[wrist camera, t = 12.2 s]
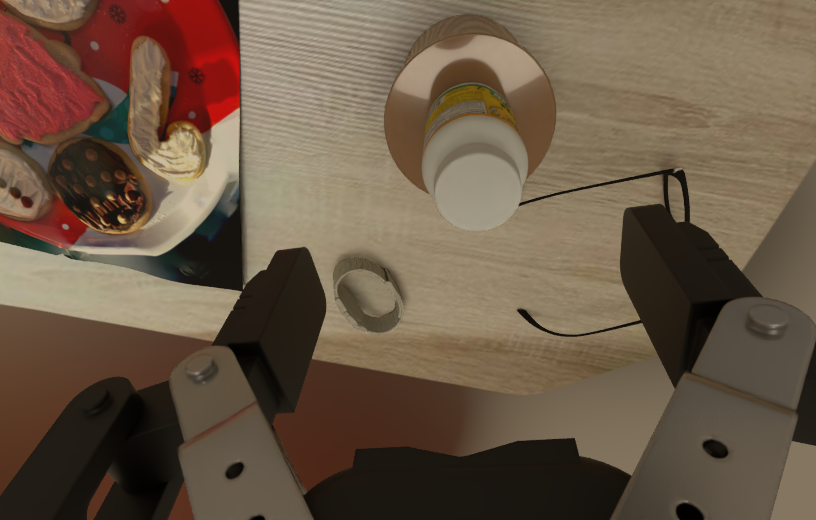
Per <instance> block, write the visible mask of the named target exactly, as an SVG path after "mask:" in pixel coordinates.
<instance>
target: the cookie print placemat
mask: <svg viewBox="0 0 816 520" xmlns="http://www.w3.org/2000/svg"><path fill="white" fill-rule="evenodd" d="M239 127H240V67H239V13H238V0H0V242H4V243H8V244H12V245H17V246H21V247H25V248H29V249H33V250H38V251H42V252H46V253H50V254H54V255H59V254H62V253H63V254H64V255H65V256H66V257H68V258H70V259H75V260H82V261H90V262H98V263H105V264H111V265H117V266H122V267H126V268H130V269H134V270H137V271H141V272H144V273H147V274H150V275H153V276H156V277H159V278H163V279H167V280H170V281H175V282H180V283H186V284H192V285H200V286H208V287H216V288H223V289H231V290H238V291H243V284H242V263H241V226H240V199H239Z"/></svg>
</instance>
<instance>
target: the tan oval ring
mask: <svg viewBox="0 0 816 520" xmlns="http://www.w3.org/2000/svg"><path fill="white" fill-rule="evenodd" d="M355 271H364V272H368V273H371V274H373V275H375V276H377V277H378V278H379V279H381V280H382V281H383V282H384V284H385V285H386V287H387V288H388V289H389V291H390V292H391V293H392V295H394V297H395V298H396V303H395V307H396V308H395V309H394V311H393V312H392V313H390V314H389V315H386V316H384V317H379V318H378V317H371V316H369V315H367V314H364V312H363V311H362V309H361V308H360V306H359V304H358V303H357V300H356V299H355V298H354V297H353V296H352V295H351V294H350V292H349V291H348V290H347V289H346V288H345V286H341V285H340V284H339V281H340V280H341V278H343V277H344V276H345V275H347V274H349V273H351V272H355ZM333 280H334V293H335V301H336V303H337V306H338V308H339V310H340V311H341V313H342V314H343V315H344V317H345V318H346V319H347V320H348V321H349V322H350V323H351V324H352V325H353V326H354V327H355V328H356V329H359V330H362V331H363V332H365V331H366V330H367V332H369V333H372V334H377V335H378V334H385V333H387V332H390V331H392V330H394V329H395V328H396V327H397V326H398V325H399V324H400V322H401V320H402V318H403V314H404V307H403V303H402V299H401V296H400V293H399V290H398V287H397V285H396V283H395V282H394V280H393V279H392V277H391V275H390V273H389V271H388V270H387V269H383V270H382V269H381V268H380V267H379V266H378V265H377V264H376V263H374V262H372V261H370V260H368V259H364V258H359V257H354V258H348V259H346V260H343V261H342V262H340V263H339V265H337V266H336V267H335V270H334V273H333Z"/></svg>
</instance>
